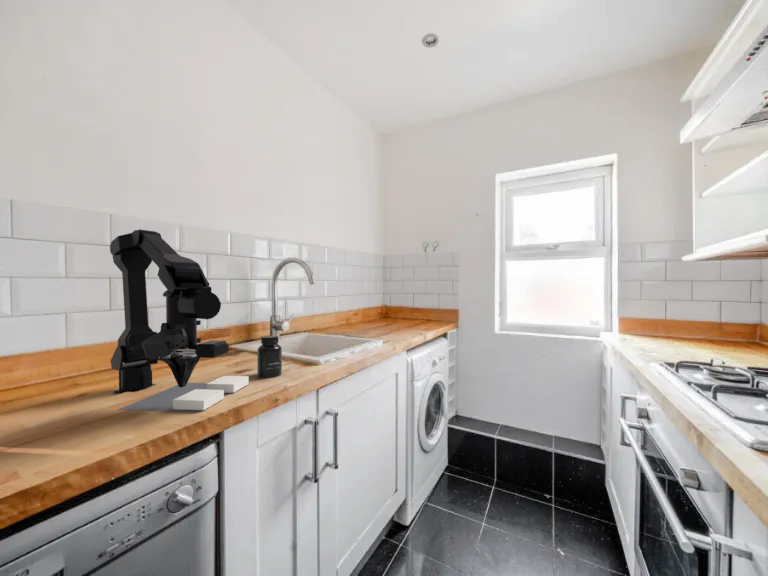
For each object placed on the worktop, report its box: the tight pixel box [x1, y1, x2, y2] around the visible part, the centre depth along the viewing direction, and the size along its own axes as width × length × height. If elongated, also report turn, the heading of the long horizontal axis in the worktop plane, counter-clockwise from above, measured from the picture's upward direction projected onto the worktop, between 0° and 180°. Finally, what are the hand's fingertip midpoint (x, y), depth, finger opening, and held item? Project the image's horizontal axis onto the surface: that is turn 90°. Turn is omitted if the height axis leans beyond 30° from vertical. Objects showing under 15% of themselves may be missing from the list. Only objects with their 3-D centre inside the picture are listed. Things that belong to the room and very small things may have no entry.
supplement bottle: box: [256, 335, 283, 379], centre depth 93 cm, size 7×7×12 cm
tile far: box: [207, 375, 250, 394], centre depth 81 cm, size 2×7×7 cm
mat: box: [118, 382, 231, 413], centre depth 76 cm, size 18×19×1 cm
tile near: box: [173, 389, 225, 412], centre depth 70 cm, size 2×7×7 cm
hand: (182, 386), depth 70 cm, fingers closed
